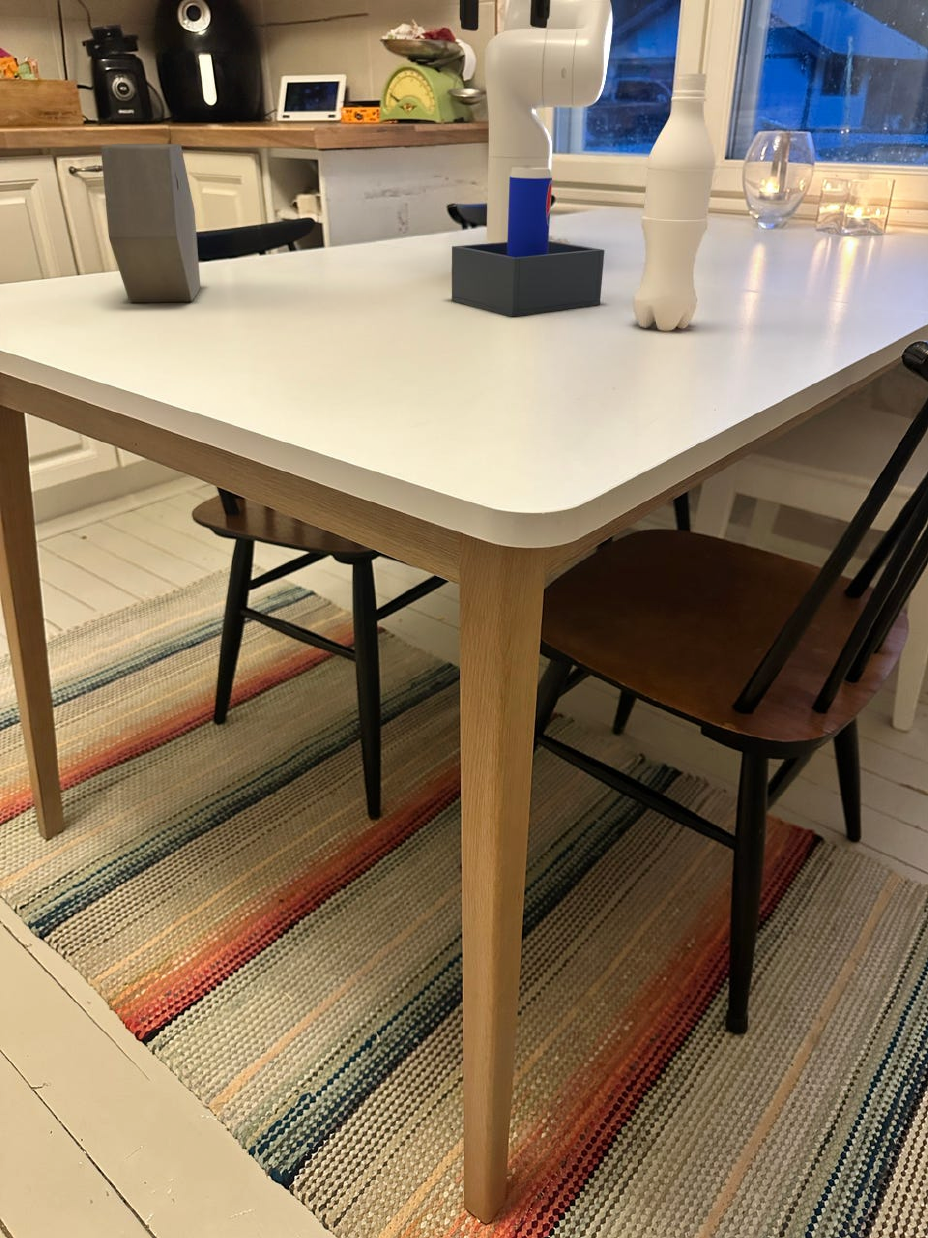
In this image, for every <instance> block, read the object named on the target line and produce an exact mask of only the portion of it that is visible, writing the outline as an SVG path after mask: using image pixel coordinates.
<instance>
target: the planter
mask: <svg viewBox="0 0 928 1238" xmlns="http://www.w3.org/2000/svg"><path fill="white" fill-rule="evenodd" d="M100 153H101V164H102V173H103V174H102V176H103V188H104V197H105V199H104V200H105V209H106V220H107V231H108V240H109V243H110V246H111V249H112V252H113V255H114V259H115V261H116V264H117V268H118V272H119V274H120V277H121V280H122V283H123V286H124V287H123V288H124V290H125V293H126V296H127V299H128V302H129V303H133V304H134V303H192V302H193V300H194V299H195V297H197V294H198V293H199V291H200V290H201V275H200V263H199V262H200V261H199V254H198V253H199V251H198V237H197V226H196V224H197V223H196V212H195V211H196V210H195V206H194V201H193V197H192V191H191V187H190V182H189V177H188V173H187V172H188V171H187V168H186V163H185V158H184V154H183V153H184V152H183V149H182V145H181V143H180V144H179V143H114V144H108V145H101V147H100Z"/></svg>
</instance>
